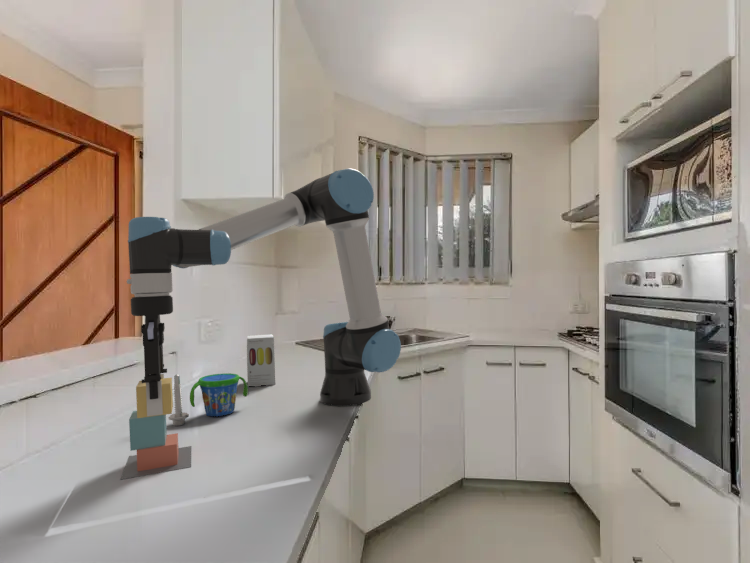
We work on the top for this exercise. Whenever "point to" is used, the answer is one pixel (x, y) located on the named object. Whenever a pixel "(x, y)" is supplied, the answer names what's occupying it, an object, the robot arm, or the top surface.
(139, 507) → the top surface
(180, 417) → the screw
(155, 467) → the base
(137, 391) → the ochre brick
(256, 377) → the supplement box
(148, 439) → the teal brick
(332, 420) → the top surface
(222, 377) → the snack cup
